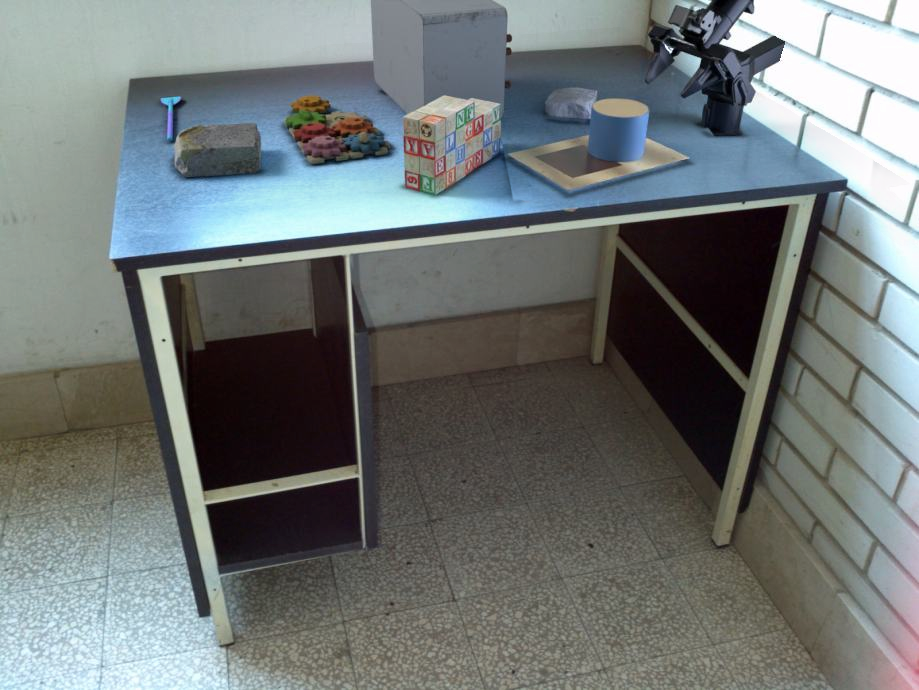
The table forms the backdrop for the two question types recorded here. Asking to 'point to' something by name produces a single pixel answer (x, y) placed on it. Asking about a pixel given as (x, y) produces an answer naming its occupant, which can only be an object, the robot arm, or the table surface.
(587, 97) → the stone block
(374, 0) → the vintage electronic device
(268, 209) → the table surface
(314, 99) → the gear puzzle
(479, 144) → the stack of blocks
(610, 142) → the blue cylinder
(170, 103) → the blue scraper
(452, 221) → the table surface
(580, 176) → the birch board
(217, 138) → the geological specimen
